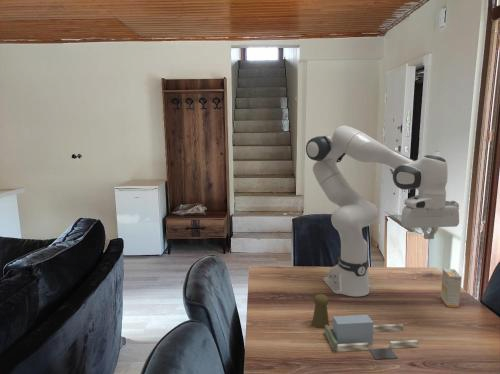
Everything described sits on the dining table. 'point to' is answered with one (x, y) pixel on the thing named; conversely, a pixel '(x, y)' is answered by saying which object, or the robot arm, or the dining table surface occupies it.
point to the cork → (320, 311)
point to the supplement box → (451, 287)
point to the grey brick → (353, 329)
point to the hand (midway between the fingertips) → (428, 238)
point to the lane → (377, 353)
